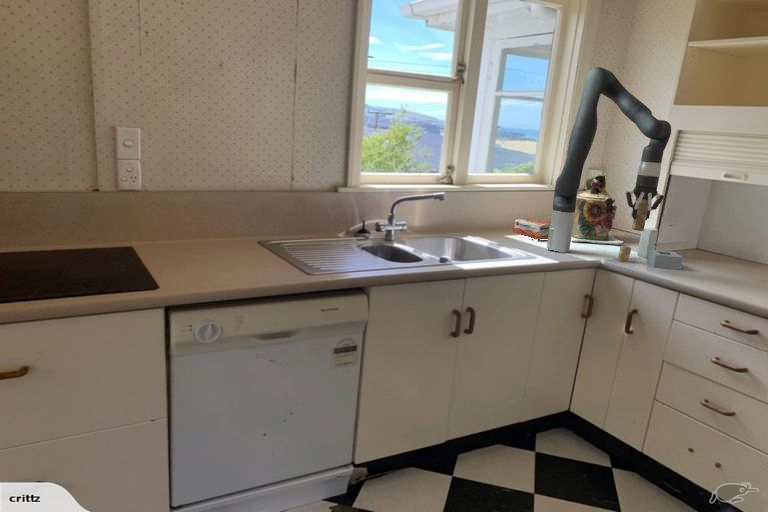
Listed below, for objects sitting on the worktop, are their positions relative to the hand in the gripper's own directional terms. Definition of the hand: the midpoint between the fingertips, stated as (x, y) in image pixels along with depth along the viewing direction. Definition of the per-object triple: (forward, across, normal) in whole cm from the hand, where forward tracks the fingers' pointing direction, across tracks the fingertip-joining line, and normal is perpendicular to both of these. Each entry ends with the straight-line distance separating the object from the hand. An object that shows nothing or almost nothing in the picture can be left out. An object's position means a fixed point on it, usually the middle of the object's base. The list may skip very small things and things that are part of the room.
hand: (639, 219), depth 209 cm
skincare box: (+19, +11, +24) cm, 33 cm away
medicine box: (+20, -36, +41) cm, 58 cm away
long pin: (+4, 0, 0) cm, 4 cm away
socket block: (+19, +14, +9) cm, 26 cm away
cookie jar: (+20, -7, +53) cm, 57 cm away
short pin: (+19, 0, +10) cm, 22 cm away
